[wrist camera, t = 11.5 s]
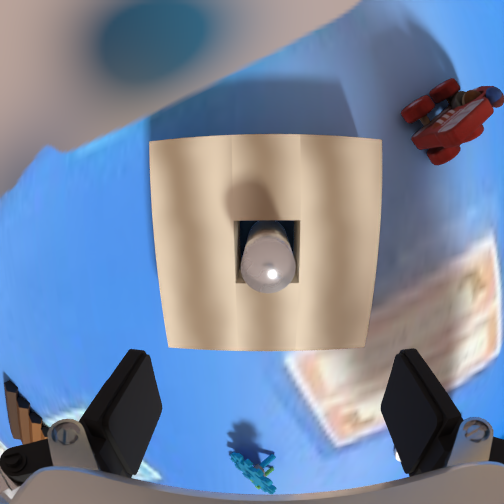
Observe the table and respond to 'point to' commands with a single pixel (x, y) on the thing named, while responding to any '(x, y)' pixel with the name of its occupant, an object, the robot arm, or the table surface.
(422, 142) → the toy fire truck
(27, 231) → the table surface
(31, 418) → the pan flute
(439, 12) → the table surface
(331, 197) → the hole block
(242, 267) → the steel peg
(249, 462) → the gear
